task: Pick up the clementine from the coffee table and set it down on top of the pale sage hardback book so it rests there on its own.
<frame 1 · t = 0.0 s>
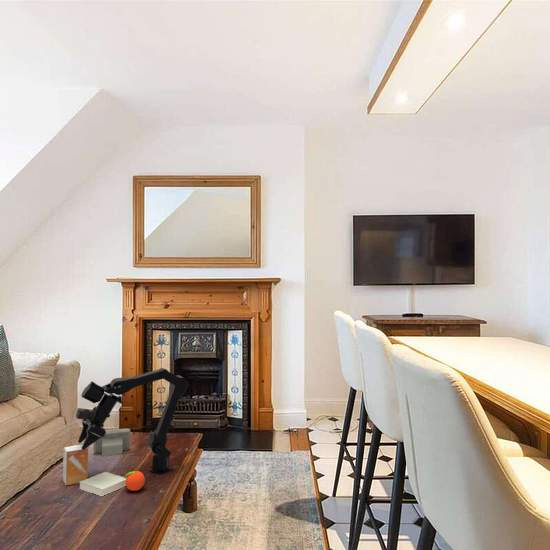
hand: (80, 445, 185), 15 cm above the table, tool tilted 35°, fingers open, 9 cm apart
digital clock: (112, 452, 222), on the table
small box: (75, 481, 188), on the table
book: (104, 488, 182), on the table
clementine: (133, 491, 180), on the table
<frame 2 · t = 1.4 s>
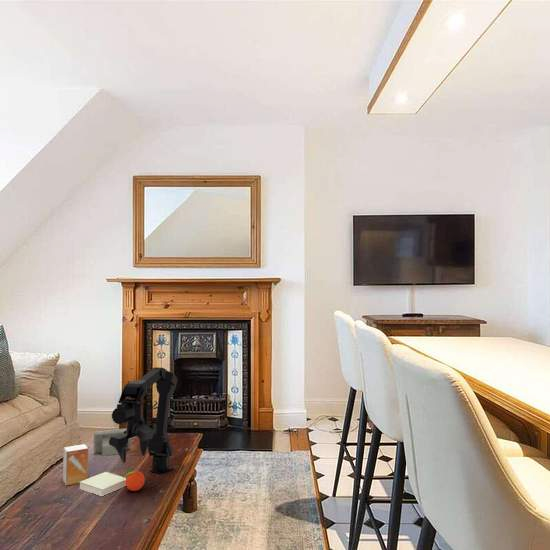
hand: (133, 459, 180), 12 cm above the table, tool pointing down, fingers open, 9 cm apart
nothing on the table moved.
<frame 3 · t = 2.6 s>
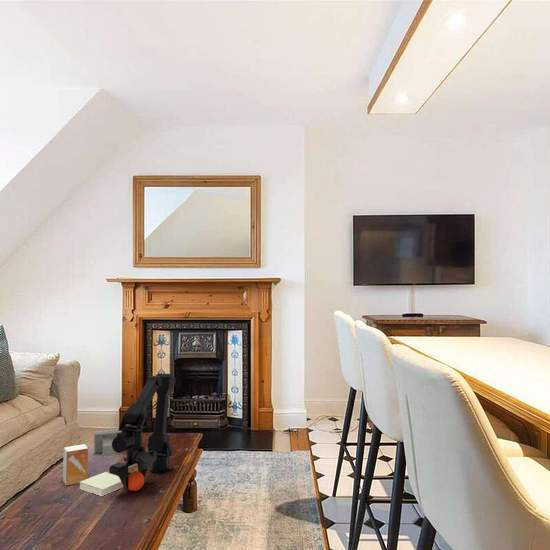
hand: (134, 486, 180), 1 cm above the table, tool pointing down, fingers closed on clementine, 7 cm apart
clementine: (133, 491, 180), on the table, touching gripper
everything else where it was.
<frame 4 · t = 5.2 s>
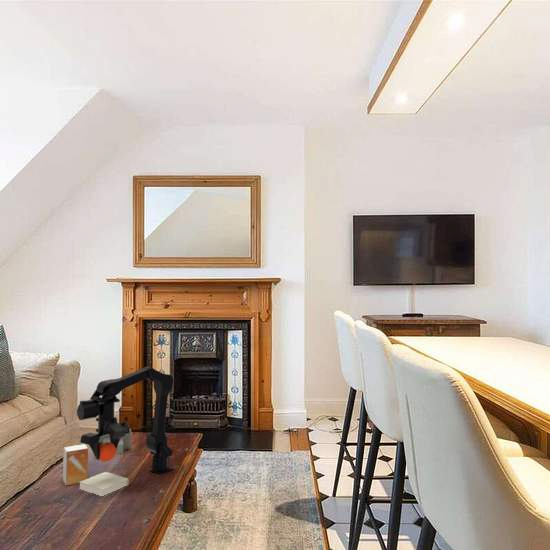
hand: (105, 456, 183), 12 cm above the table, tool pointing down, fingers closed on clementine, 7 cm apart
clementine: (104, 461, 182), point 10 cm above the table, touching gripper
everything else where it was.
when the fingers open (4 cm above the table, at t = 7.8 s): clementine stays where it is, resting on book.
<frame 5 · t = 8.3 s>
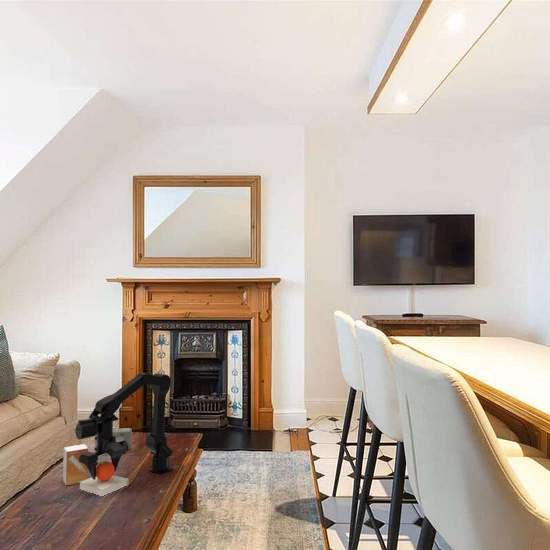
hand: (104, 475, 183), 4 cm above the table, tool pointing down, fingers open, 9 cm apart
book: (104, 488, 182), on the table, touching clementine
clementine: (103, 481, 182), point 3 cm above the table, touching book
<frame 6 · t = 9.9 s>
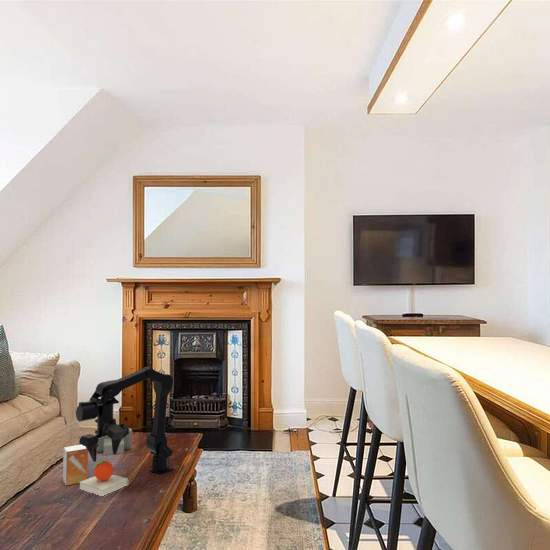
hand: (104, 458, 183), 11 cm above the table, tool pointing down, fingers open, 9 cm apart
book: (104, 488, 182), on the table
clementine: (102, 480, 182), point 3 cm above the table
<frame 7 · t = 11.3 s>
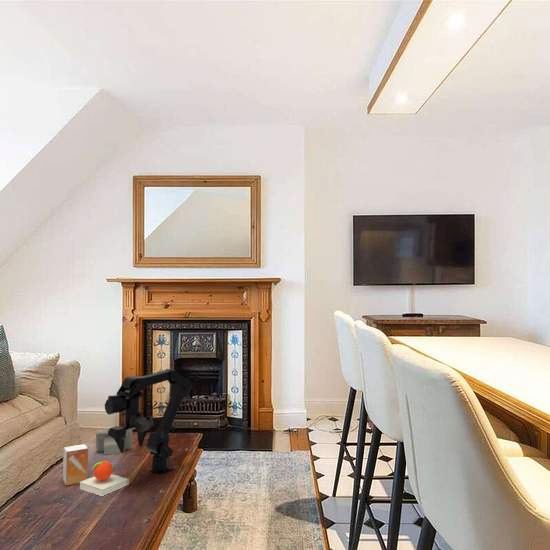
hand: (131, 449, 189), 12 cm above the table, tool pointing down, fingers open, 9 cm apart
book: (104, 488, 182), on the table, touching clementine
clementine: (102, 480, 182), point 3 cm above the table, touching book
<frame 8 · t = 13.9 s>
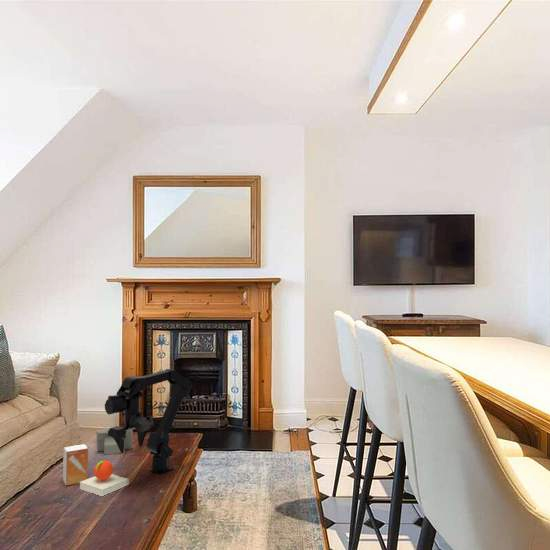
hand: (131, 449, 189), 12 cm above the table, tool pointing down, fingers open, 9 cm apart
at the end: clementine inside the target area on the book (0.7 cm from its centre), point 3.0 cm above the book's base; clementine point 2.7 cm above the table; the gripper is holding nothing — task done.
